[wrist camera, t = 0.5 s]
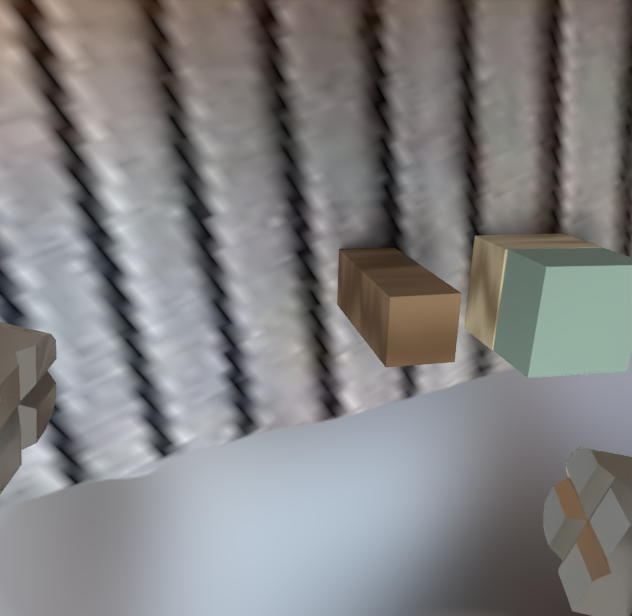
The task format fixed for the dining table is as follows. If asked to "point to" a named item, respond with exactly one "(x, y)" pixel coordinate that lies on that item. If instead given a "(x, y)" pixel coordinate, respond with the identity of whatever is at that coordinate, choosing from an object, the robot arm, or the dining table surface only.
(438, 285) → the walnut post
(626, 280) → the upper block
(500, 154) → the dining table surface
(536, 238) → the lower block
